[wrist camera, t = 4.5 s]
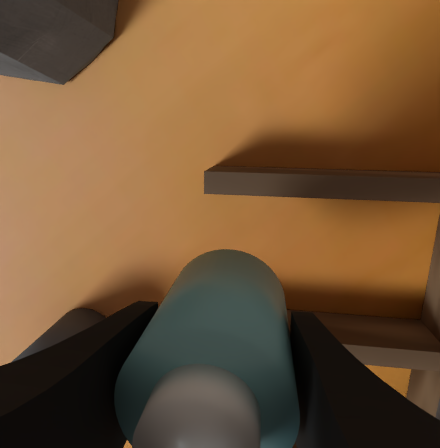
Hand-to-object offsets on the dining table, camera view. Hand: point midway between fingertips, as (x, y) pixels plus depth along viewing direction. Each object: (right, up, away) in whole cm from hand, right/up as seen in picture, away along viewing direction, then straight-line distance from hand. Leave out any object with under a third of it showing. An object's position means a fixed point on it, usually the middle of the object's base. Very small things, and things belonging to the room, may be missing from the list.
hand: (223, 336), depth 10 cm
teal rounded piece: (0, +1, +2) cm, 2 cm away
